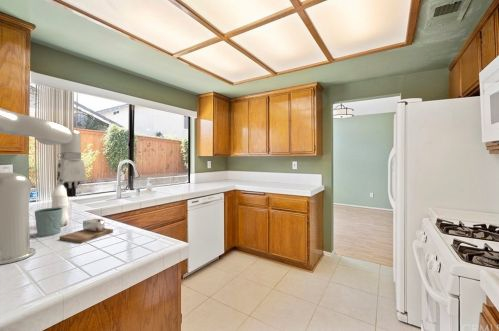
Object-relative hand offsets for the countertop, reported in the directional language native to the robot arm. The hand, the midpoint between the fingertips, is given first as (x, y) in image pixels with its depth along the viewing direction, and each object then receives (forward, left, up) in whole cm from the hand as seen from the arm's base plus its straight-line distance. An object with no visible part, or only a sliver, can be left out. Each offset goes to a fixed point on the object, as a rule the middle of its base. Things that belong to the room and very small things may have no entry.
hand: (71, 196), depth 104 cm
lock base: (+4, -4, -19) cm, 20 cm away
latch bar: (+8, -4, -17) cm, 19 cm away
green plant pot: (0, +17, -20) cm, 26 cm away
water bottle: (+11, +27, -20) cm, 35 cm away
